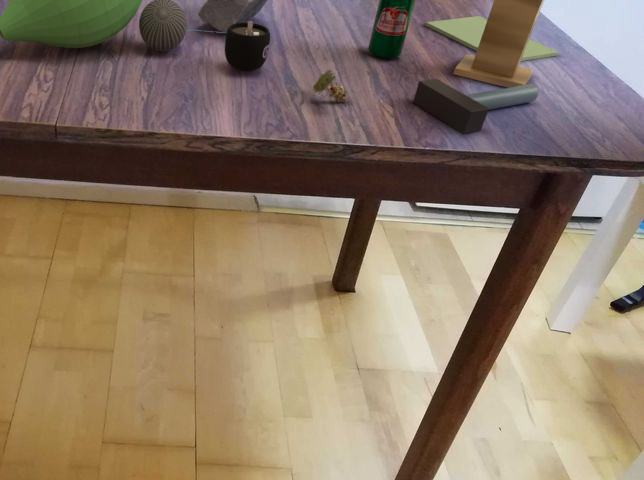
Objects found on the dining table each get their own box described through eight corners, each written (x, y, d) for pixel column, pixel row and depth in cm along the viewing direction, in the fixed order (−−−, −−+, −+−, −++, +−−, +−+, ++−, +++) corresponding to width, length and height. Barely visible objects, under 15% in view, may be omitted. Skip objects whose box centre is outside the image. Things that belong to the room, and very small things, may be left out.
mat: (557, 55, 112) (558, 51, 111) (502, 64, 107) (503, 60, 107) (477, 19, 123) (479, 15, 123) (425, 25, 119) (426, 22, 119)
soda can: (366, 58, 106) (386, -29, 98) (367, 47, 110) (387, -38, 102) (400, 62, 105) (423, -24, 97) (400, 51, 109) (422, -33, 101)
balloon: (-19, 108, 105) (148, 19, 109) (-12, 100, 92) (178, 0, 96) (-74, 12, 99) (104, -77, 104) (-75, -11, 86) (130, -112, 91)
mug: (266, 79, 97) (274, 23, 92) (222, 75, 98) (227, 19, 93) (265, 48, 106) (272, -4, 101) (224, 45, 106) (229, -8, 101)
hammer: (501, 87, 100) (509, 66, 98) (555, 116, 94) (565, 94, 92) (412, 102, 95) (418, 80, 93) (463, 134, 88) (471, 111, 86)
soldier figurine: (331, 77, 90) (353, 95, 92) (328, 73, 91) (350, 91, 93) (320, 91, 91) (342, 108, 93) (317, 87, 92) (339, 104, 94)
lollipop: (235, -32, 108) (214, 2, 114) (140, -8, 97) (122, 28, 103) (270, 18, 107) (247, 49, 113) (179, 48, 97) (158, 80, 103)
